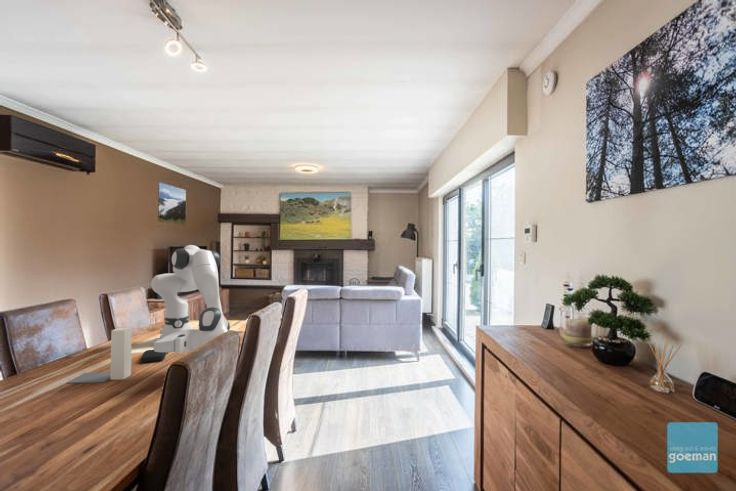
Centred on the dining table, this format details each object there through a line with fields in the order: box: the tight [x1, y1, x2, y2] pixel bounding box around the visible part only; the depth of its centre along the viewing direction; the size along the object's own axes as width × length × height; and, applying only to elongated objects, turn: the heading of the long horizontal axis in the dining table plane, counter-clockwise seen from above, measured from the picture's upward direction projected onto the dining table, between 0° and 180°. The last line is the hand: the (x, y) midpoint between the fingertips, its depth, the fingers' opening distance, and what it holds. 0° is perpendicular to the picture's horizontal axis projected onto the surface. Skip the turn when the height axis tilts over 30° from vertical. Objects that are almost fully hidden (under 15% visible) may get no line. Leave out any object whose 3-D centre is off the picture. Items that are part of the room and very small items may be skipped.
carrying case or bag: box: [139, 349, 169, 364], centre depth 163 cm, size 11×3×15 cm
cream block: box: [109, 327, 133, 381], centre depth 139 cm, size 5×5×20 cm
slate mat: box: [65, 371, 111, 384], centre depth 138 cm, size 14×10×1 cm
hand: (153, 341), depth 140 cm, fingers closed
